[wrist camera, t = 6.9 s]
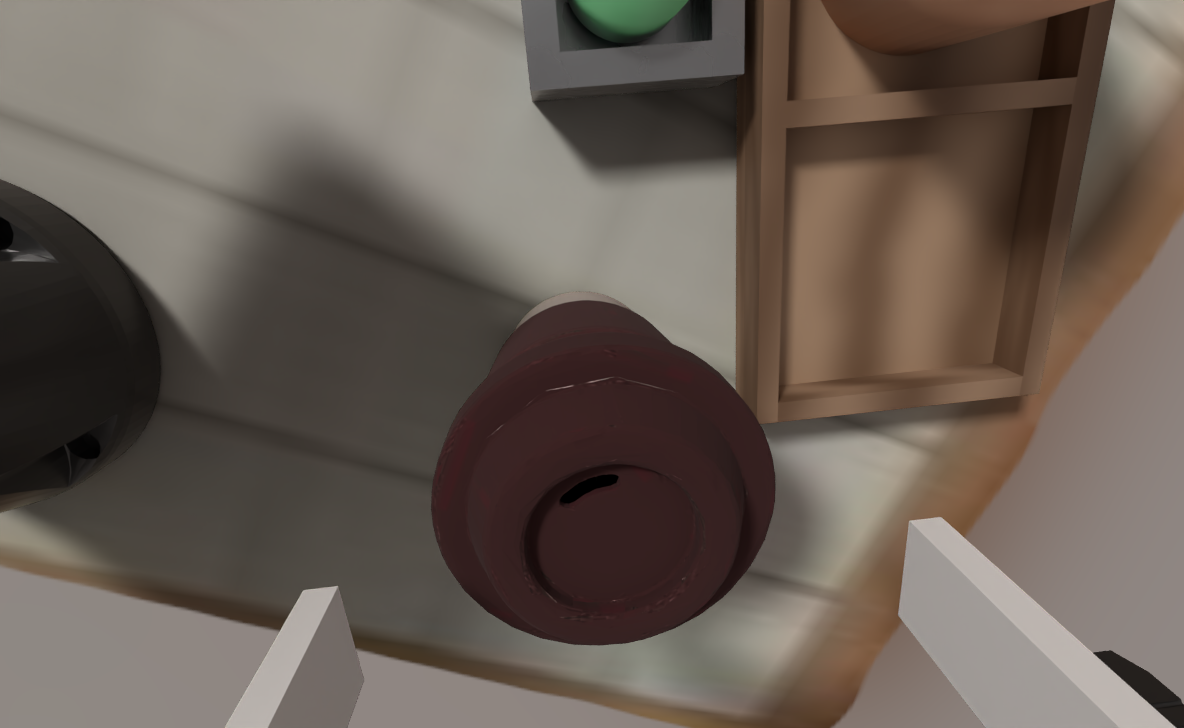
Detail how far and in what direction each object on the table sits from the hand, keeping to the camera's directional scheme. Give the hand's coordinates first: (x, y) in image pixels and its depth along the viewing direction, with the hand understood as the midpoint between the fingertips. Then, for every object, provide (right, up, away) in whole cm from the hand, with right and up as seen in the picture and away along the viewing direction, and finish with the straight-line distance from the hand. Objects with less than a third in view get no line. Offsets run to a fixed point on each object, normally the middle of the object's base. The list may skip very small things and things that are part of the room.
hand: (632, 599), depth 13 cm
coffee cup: (-2, +6, +16) cm, 17 cm away
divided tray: (+13, +17, +13) cm, 25 cm away
